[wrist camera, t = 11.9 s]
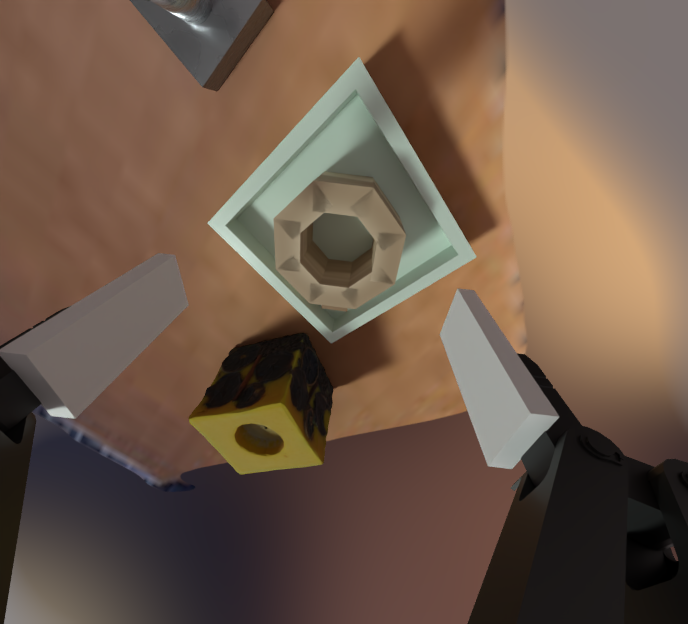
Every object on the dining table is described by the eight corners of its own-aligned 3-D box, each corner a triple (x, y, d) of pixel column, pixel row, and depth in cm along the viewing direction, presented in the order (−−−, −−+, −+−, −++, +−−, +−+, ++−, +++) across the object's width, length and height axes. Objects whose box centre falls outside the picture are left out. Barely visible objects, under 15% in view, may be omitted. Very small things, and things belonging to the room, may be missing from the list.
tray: (224, 213, 24) (207, 223, 21) (360, 67, 18) (358, 56, 15) (334, 326, 29) (331, 343, 27) (465, 244, 23) (476, 257, 21)
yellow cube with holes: (267, 400, 38) (238, 476, 29) (229, 347, 33) (181, 419, 24) (336, 389, 35) (325, 468, 27) (306, 329, 30) (282, 403, 22)
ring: (291, 167, 21) (271, 175, 16) (406, 181, 20) (415, 193, 16) (292, 293, 27) (278, 322, 22) (380, 304, 27) (382, 336, 22)
